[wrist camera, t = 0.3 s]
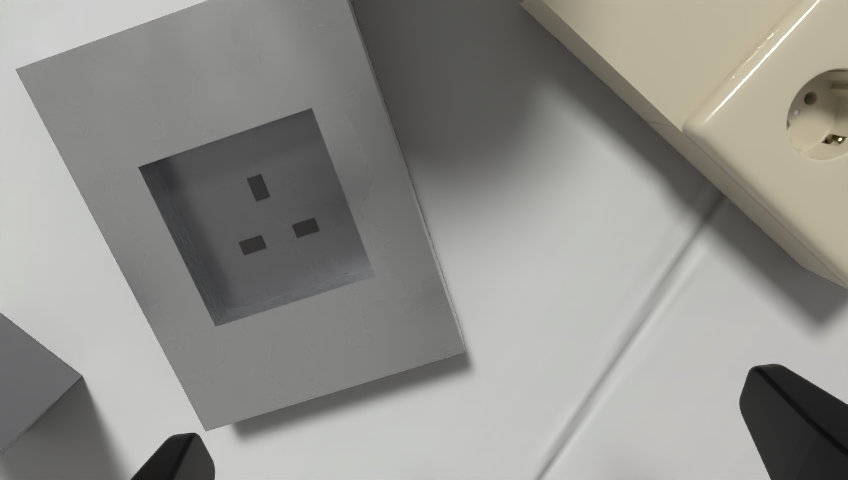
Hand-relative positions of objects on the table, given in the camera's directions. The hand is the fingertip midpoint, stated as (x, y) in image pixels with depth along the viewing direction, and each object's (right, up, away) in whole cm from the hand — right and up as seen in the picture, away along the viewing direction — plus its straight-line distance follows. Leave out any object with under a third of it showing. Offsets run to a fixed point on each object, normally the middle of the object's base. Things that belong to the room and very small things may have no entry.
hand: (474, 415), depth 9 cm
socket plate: (-7, +4, +15) cm, 17 cm away
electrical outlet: (+12, +10, +14) cm, 21 cm away
